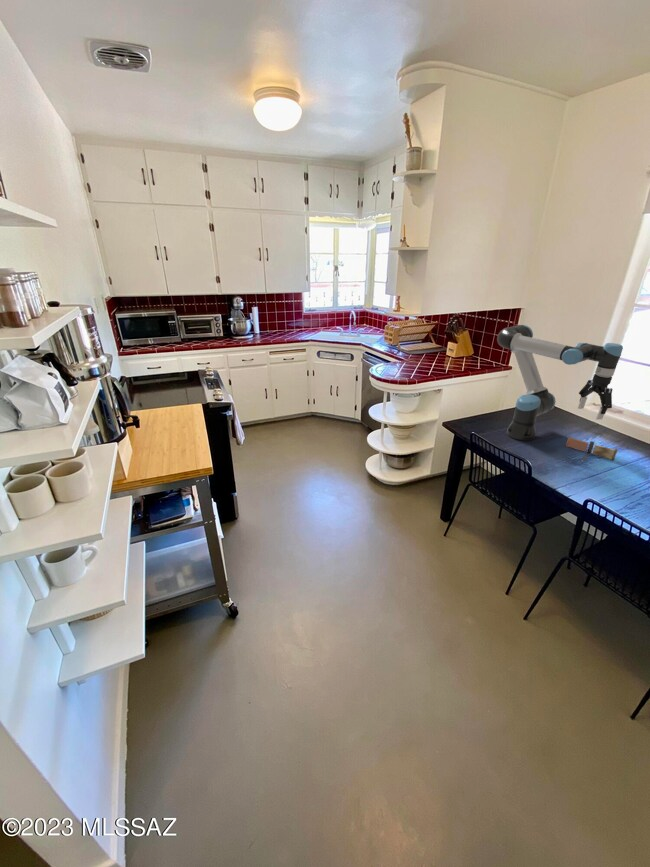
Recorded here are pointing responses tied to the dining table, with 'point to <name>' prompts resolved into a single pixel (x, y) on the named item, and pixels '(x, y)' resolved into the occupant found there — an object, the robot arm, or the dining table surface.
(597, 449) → the fence post and fixed panel
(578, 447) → the hinged fence panel
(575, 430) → the dining table surface
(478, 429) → the dining table surface
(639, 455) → the dining table surface
